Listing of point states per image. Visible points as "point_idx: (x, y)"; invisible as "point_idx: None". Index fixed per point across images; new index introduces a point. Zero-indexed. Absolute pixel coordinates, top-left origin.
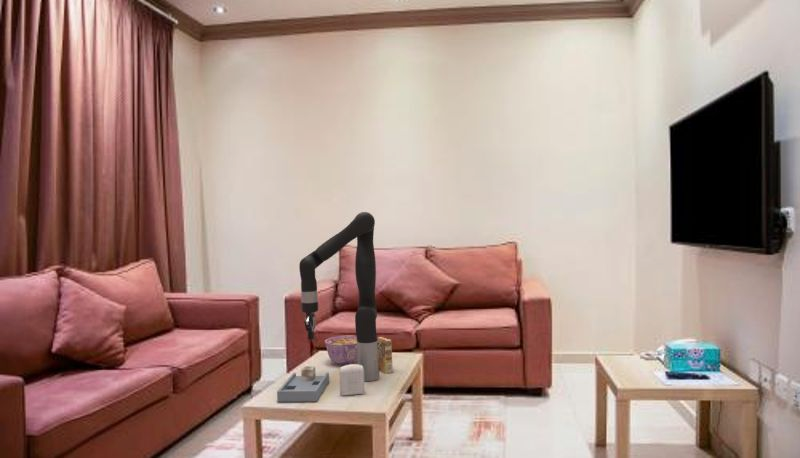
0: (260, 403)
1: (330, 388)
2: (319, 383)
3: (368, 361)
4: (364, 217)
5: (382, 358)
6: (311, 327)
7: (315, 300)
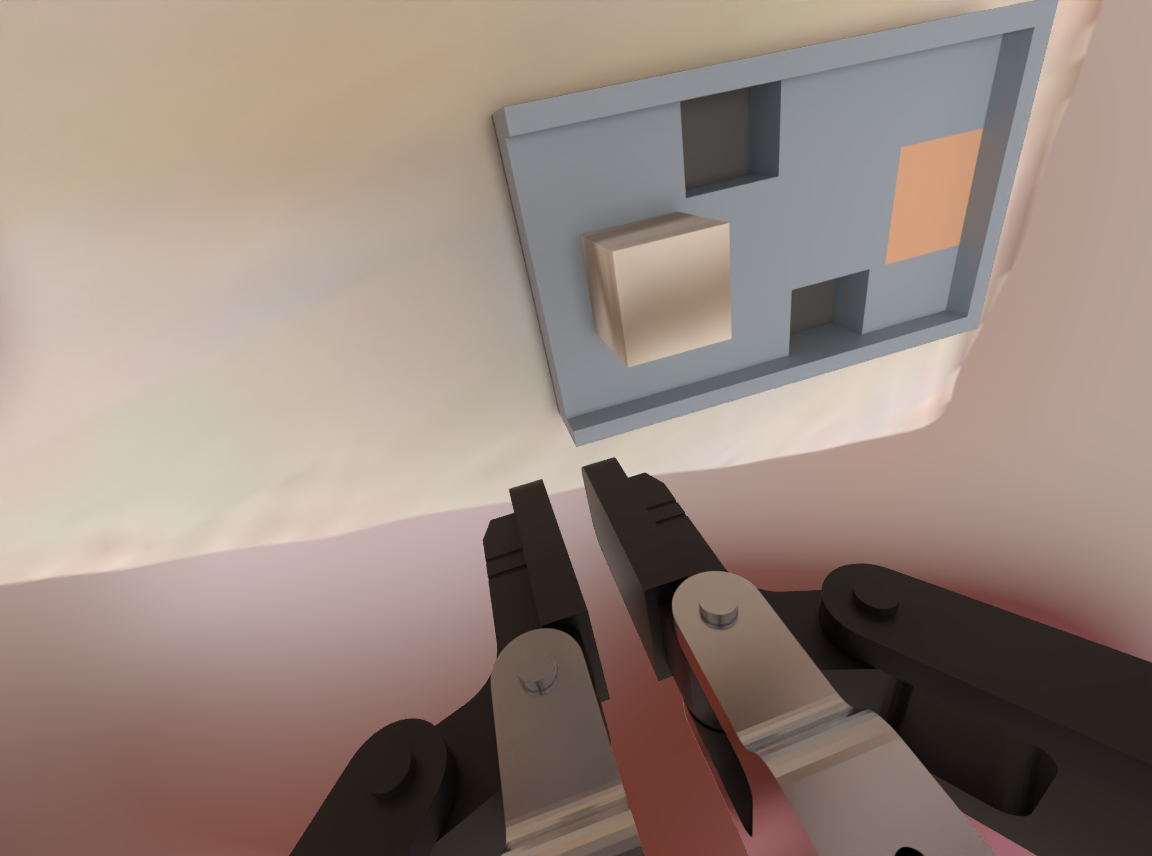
0: (911, 390)
1: (656, 23)
2: (863, 56)
3: None
4: None
5: None
6: (983, 657)
7: None
